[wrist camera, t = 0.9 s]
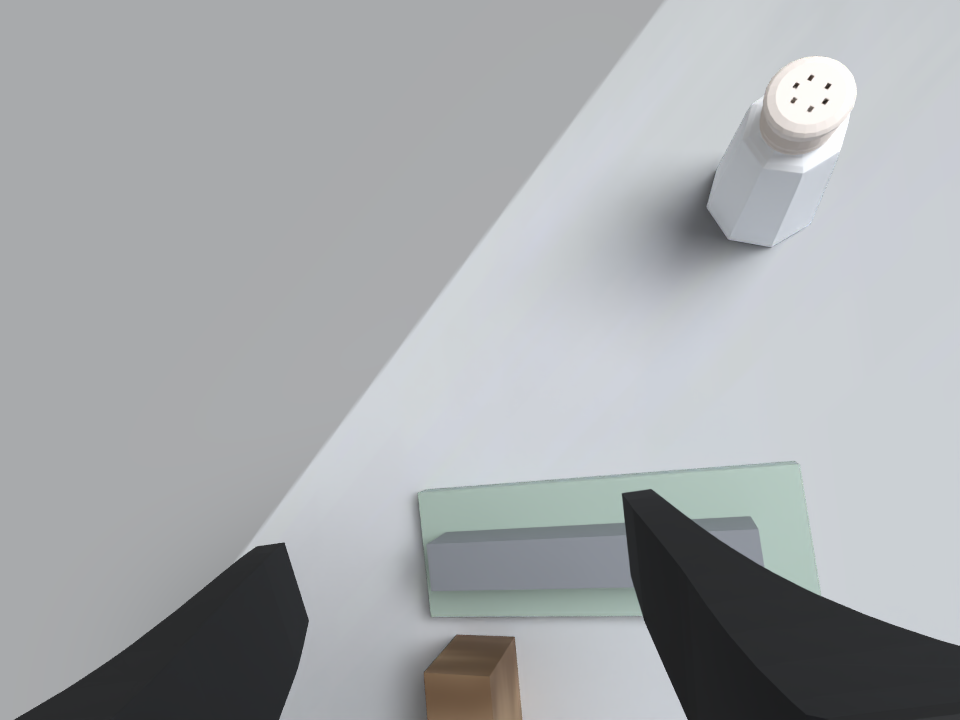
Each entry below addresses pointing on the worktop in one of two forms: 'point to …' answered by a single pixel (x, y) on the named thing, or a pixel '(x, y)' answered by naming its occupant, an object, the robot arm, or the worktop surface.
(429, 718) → the walnut bar
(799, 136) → the pepper shaker
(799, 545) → the ridge stand
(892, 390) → the worktop surface
